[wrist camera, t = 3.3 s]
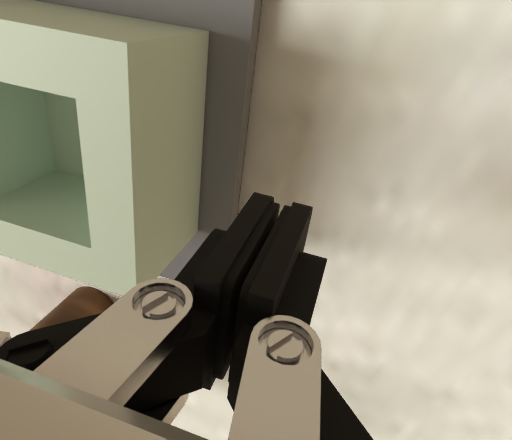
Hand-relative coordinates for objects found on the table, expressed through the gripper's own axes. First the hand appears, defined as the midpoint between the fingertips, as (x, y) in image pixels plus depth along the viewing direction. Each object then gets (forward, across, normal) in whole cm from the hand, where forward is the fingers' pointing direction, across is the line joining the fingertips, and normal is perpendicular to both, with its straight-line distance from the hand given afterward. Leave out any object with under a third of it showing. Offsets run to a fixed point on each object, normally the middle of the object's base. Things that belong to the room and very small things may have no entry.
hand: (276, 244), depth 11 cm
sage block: (+8, +11, +1) cm, 13 cm away
